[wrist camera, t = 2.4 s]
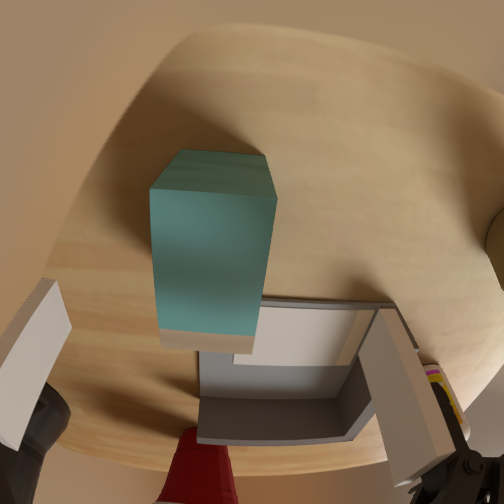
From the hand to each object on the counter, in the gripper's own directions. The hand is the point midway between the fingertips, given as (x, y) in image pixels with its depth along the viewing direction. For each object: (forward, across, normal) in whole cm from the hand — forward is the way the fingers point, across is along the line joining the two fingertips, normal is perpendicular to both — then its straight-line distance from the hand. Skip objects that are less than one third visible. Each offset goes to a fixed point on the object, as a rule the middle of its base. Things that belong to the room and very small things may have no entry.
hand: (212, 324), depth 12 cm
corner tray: (+10, +6, -14) cm, 18 cm away
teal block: (+10, -1, 0) cm, 10 cm away
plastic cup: (+10, -2, -31) cm, 33 cm away
